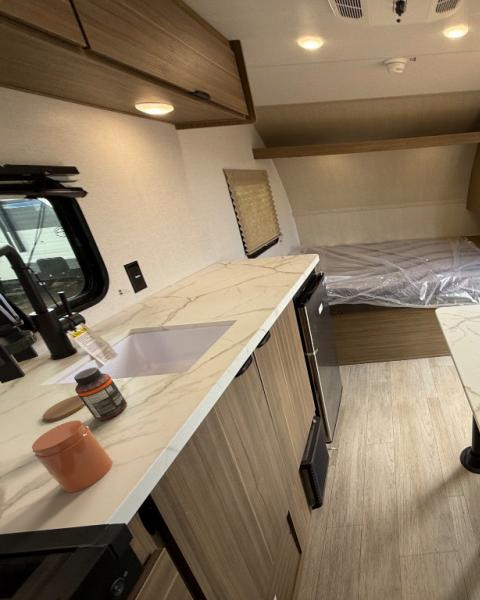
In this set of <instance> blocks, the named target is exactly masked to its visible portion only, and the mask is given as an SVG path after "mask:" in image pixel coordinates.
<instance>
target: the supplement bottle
mask: <svg viewBox="0 0 480 600" xmlns="http://www.w3.org/2000/svg"><path fill="white" fill-rule="evenodd" d="M73 379H74V381H75V383H76V386H75V389H74V391H75V393H76V394H77V395H79V397H80V398H81V400H82V401H83V402H84V404H85V407H86V409H87V410H88V411H89V412H90V414H91V415H92V417H93V418H94V419H95V420H96V421H105V420H110V419H112V418H114V417H116V416H118V415H119V414H120V413H122V412H123V411H124V410H125V409H126V407H127V405H128V403H127V401H126V399H125V397H124V396H123V394H122V393H121V392H120V389H119V388H118V387H117V385H116V383H115V382H114V380H113V379H112V377H111V376H110V375H109V374H108V373H102V372H101V371H100V369H99V368H98V367H93V366H92V367H89V368H86V369H84V370H82V371H80V372H78V373H77V374H75V375H74V378H73Z"/></svg>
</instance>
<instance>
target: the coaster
mask: <svg viewBox="0 0 480 600" xmlns="http://www.w3.org/2000/svg"><path fill="white" fill-rule="evenodd" d="M84 407H86V405H85V404H84V402H83V401H82V400H81V398H80V397H79V395H78V394H77V395H74V396H70V397H68V398H65V399H63V400H61V401H59V402H57V403H55V404H53V405H52V406H50V407H48V409H46V410H45V411H44V412H43V414H42V418H43V420H44V421H45V422H55V421H58V420H61V419H65V418H67V417H69V416H71V415H73V414H74V413H76V412H78V411H80V410H81V409H83V408H84Z"/></svg>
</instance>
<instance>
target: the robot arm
mask: <svg viewBox="0 0 480 600" xmlns="http://www.w3.org/2000/svg"><path fill="white" fill-rule="evenodd" d="M22 325H24V320H23V319H20V316H19V315H18V314H17V313H16V311H15V310H14V309H13V308H12V306H11V305H10V303H8V301H7V300H6V298H4V296H3V295H2V294H1V293H0V336H2V335H5V334H9V333H13V332H17V331H22V329H21V328H20V326H22ZM38 357H39V354H38V352H37V351H36V350H35V348H34V347H33V345H31V346H30V347H28V348H26V349H24V350H22V351H19V352H17V353H15V354H12V355H10V354H9V352H8V351H7V350H6V348H5V347H4V346H3V344H0V383H1V384H2V385H3V384H5V383H9V382H12V381H15V380H18V379H21V378H24V377H25V376H26V374H25V372H24V370H22V368H21V367H20V366H19V363H23V362H26V361H29V360H33V359H35V358H38Z"/></svg>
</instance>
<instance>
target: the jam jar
mask: <svg viewBox="0 0 480 600" xmlns="http://www.w3.org/2000/svg"><path fill="white" fill-rule="evenodd" d="M31 448H32V452H33V453H34V457H35V458H36V459H37V460H38V461H39V463H40V464H41V465H42V466H43V467H44V468H45V469H46V471H47V472H48V473H49V474H50V475H51V476H52V478H53V479H54V480H55V482H57V484H58V485H59V486H60V487H61V488H62V490H63V491H64V492H66V493H76V492H79V491H82V490H85V489H86V488H88V487H90V486H92V485H94V484H95V483H97V482H98V481H99V480H100V479H102V478H103V477H104V476H105V475H106V474H107V473H108V472H109V471H110V469H111V468H112V466H113V459H112V458H111V457H110V455H109V454H108V452H107V451H106V449H105V448H104V447H103V445H102V444H101V443H100V441H99V440H98V439H97V437H96V435H94V433H93V432H92V430H91V429H90V427H89V426H88V425H84V423H83V422H82V421H81V420H77V419H76V420H70V421H67V422H63V423H61V424H59V425H57V426H55V427H53V428H51V429H49V430H47V431H45V432H44V433H43V434H41V435H40V436H38V438H36V440H35V441H34V442H33V444H32V445H31Z"/></svg>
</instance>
